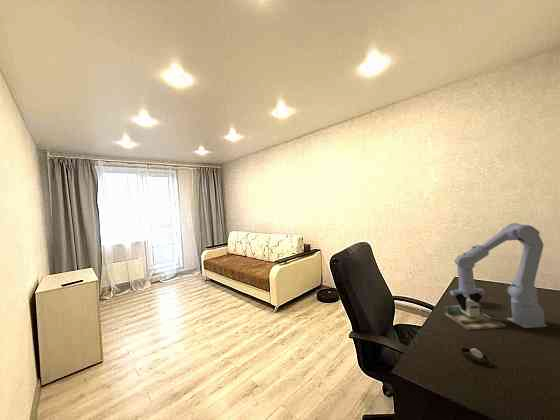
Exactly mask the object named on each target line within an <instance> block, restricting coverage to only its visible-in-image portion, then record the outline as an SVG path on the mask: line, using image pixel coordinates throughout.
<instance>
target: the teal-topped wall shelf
mask: <svg viewBox="0 0 560 420" xmlns="http://www.w3.org/2000/svg"><path fill="white" fill-rule="evenodd" d="M479 312H480V316H476V317H469V316H468V315H466V314H464V313H462V312H461V311H460V307H459V304H457V305H445V312H444V315H446V317H448V318H450V319H451V320H452V321H454V322H456V323H457V324H458V325H461V326H462V327H463V328H464V329H466V330H467V331H472V330H486V329H498V328H499V329H500V328H501V329H502V328H507V326H506V324H505V323H503V322H501V321H500V318H498V317H492V316H489V315H488V314H486V313H484V312H482V305H481V304H479Z"/></svg>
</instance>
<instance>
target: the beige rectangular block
mask: <svg viewBox="0 0 560 420" xmlns="http://www.w3.org/2000/svg"><path fill="white" fill-rule="evenodd" d="M458 305H459V307H460V304H459V303H458ZM460 311H461V312H462V313H464V314H466V315H468V316H469V317H476V316H480V312H479V303H477V302H475V301H473V300H471V299H469V298H467V299H466V310H462V309H461V307H460Z"/></svg>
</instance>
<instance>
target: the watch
mask: <svg viewBox="0 0 560 420" xmlns="http://www.w3.org/2000/svg"><path fill="white" fill-rule="evenodd" d="M461 353H462V356H463V358H465V359H466V360H468V361H469V362H471V363H474V364H478V365H479V366H488V365H489V364H490V358H489V357H488V356H487V355H485V354H484V353H482V352H481V351H480V350H478V349H477V348H471V349H470V348H466V347H463V348H461ZM465 353H469V354H471V355H473V357H476V358H478V359H475V358H473V357H471V356H468V355H466V354H465ZM479 359H484V360H486V361H483V360H479Z"/></svg>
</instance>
